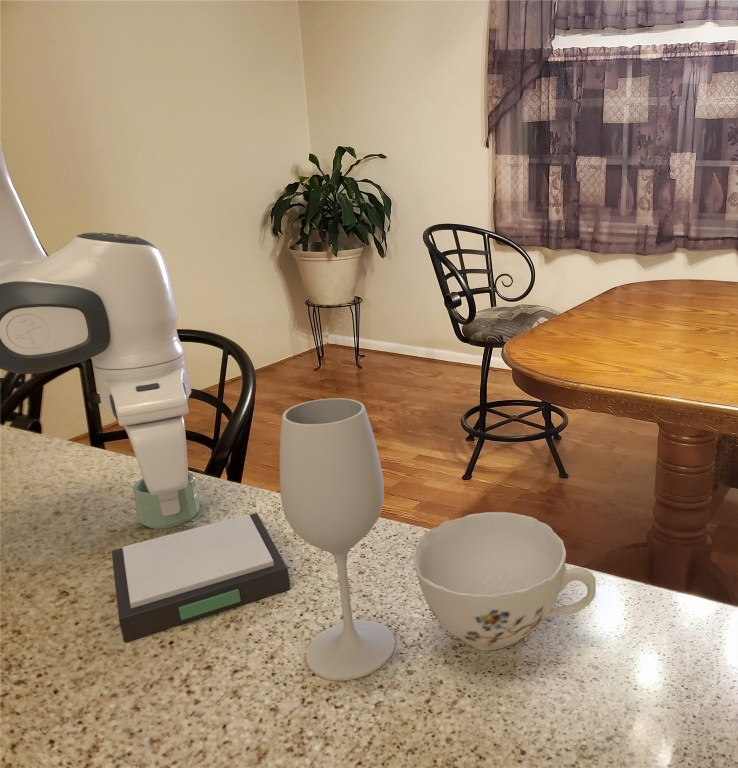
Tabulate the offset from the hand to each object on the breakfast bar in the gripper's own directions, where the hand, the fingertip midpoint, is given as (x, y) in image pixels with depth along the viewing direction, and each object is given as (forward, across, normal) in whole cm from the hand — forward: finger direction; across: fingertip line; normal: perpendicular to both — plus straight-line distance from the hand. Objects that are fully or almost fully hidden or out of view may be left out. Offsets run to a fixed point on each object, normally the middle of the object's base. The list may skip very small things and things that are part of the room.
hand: (167, 498), depth 79 cm
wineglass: (+3, +34, +10) cm, 36 cm away
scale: (+2, +16, +1) cm, 16 cm away
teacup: (+3, +39, +22) cm, 45 cm away
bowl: (+2, 0, 0) cm, 2 cm away
